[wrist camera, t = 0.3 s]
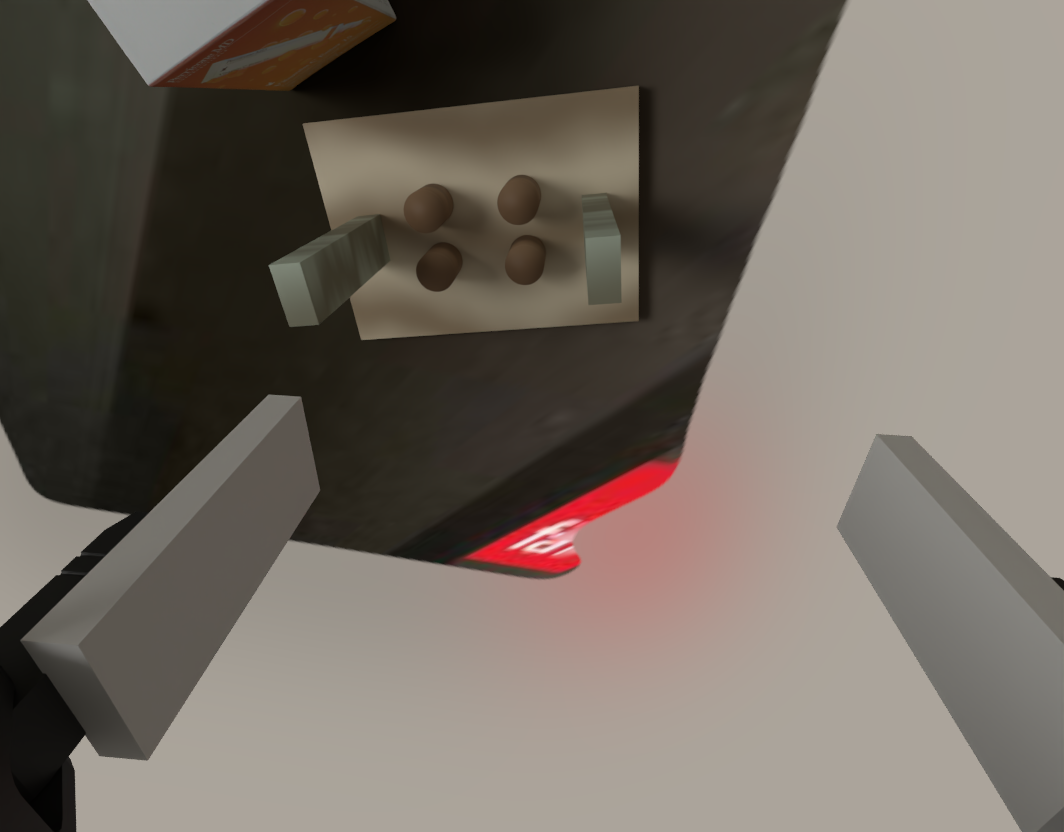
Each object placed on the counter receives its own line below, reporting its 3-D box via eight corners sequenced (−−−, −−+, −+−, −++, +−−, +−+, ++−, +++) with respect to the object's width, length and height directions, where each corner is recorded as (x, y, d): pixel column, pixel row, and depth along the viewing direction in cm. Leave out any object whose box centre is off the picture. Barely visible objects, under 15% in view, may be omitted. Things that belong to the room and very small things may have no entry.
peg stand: (309, 123, 34) (178, 135, 22) (636, 85, 32) (672, 80, 20) (365, 334, 41) (287, 425, 29) (637, 315, 39) (663, 405, 27)
